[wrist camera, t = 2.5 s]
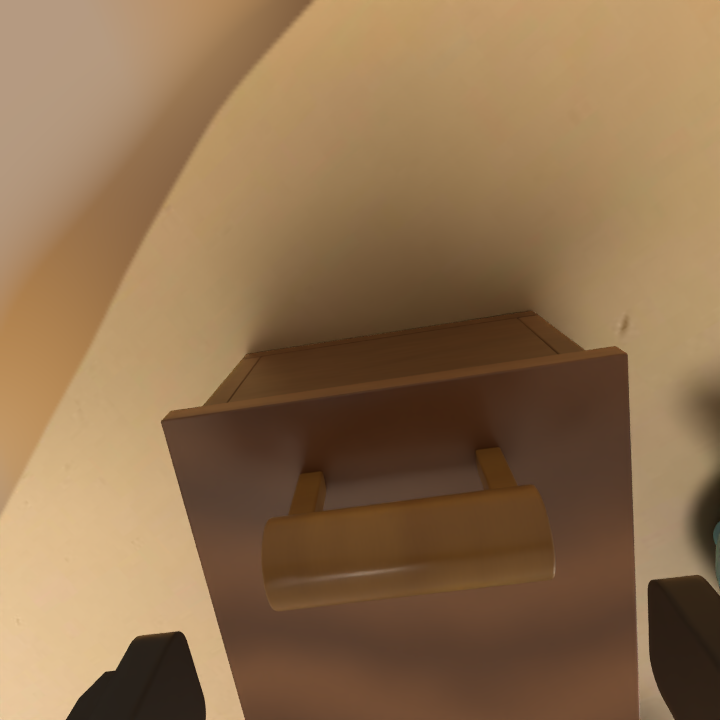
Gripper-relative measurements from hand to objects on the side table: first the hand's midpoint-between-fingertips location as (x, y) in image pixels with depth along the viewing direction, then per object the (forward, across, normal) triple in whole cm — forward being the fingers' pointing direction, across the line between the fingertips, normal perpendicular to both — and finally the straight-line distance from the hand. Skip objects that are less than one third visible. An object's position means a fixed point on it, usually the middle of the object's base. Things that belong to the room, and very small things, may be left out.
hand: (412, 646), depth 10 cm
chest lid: (+7, 0, +6) cm, 9 cm away
